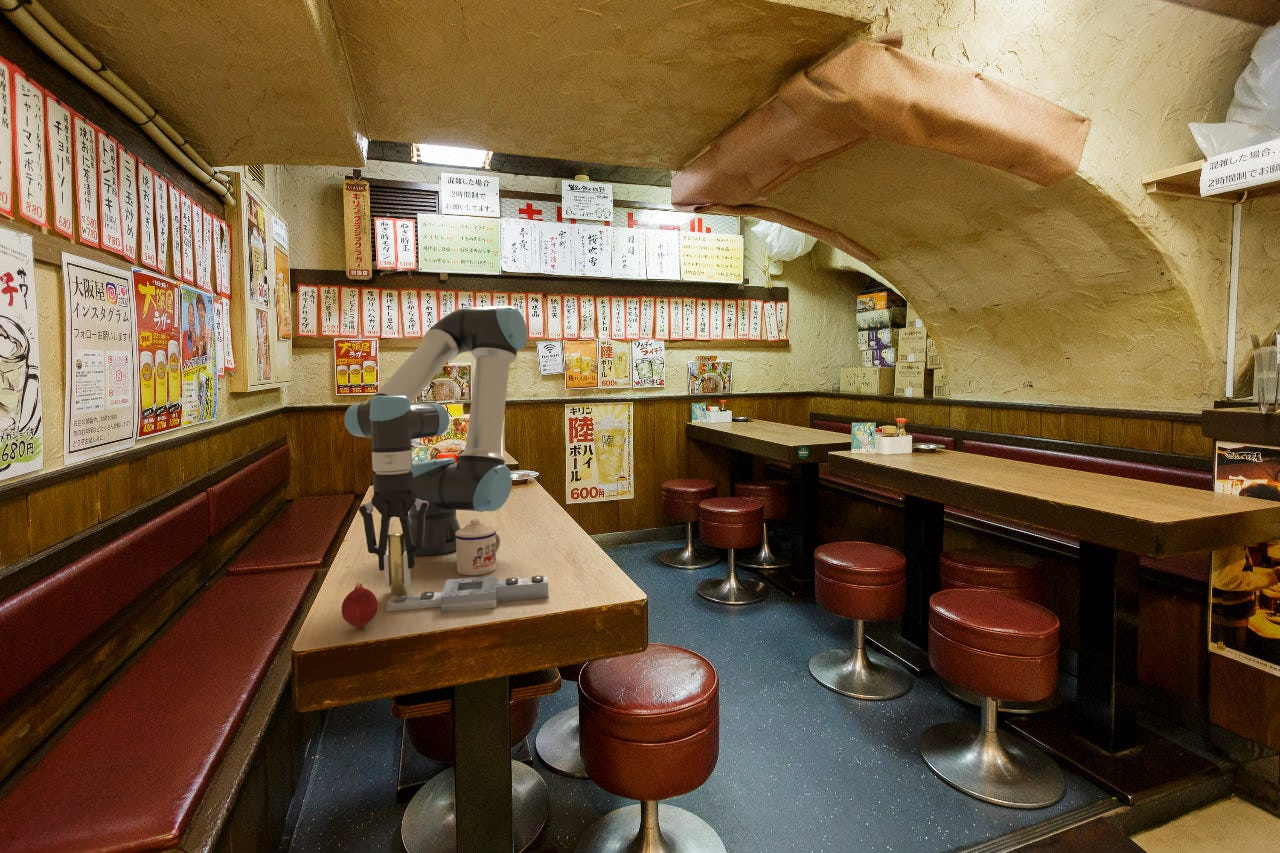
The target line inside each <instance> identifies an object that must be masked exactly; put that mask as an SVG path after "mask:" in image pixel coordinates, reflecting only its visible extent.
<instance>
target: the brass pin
mask: <svg viewBox="0 0 1280 853" xmlns="http://www.w3.org/2000/svg"><path fill="white" fill-rule="evenodd" d="M387 547H388V548H387V551H388V552H389V571H390V587H389V588H390V590H389V591H390V594H391V595H398V594H405V593H406V592H407V586H404V566H403V554H404V536H403V532H393V533H392V532H391V533H388V541H387Z"/></svg>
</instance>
